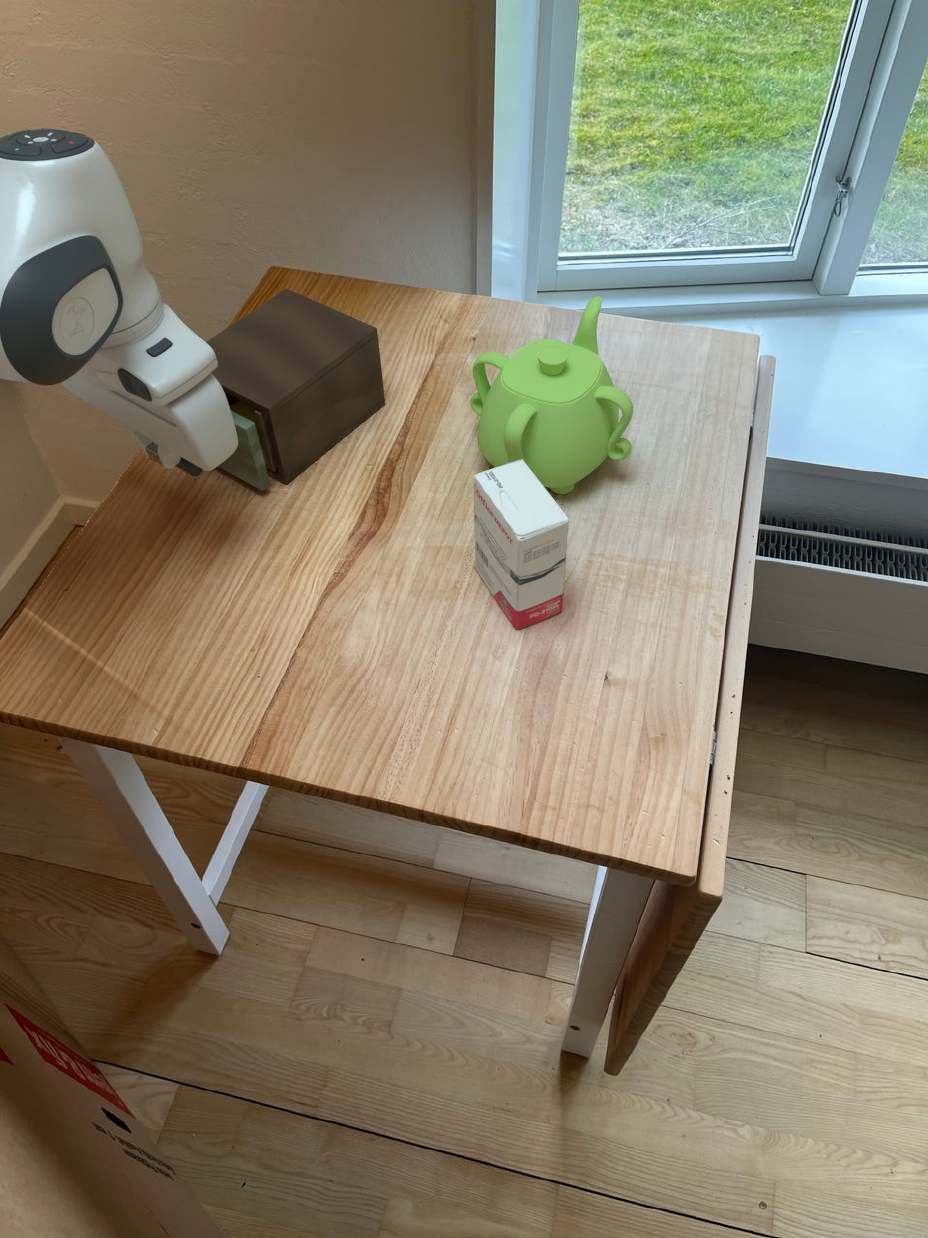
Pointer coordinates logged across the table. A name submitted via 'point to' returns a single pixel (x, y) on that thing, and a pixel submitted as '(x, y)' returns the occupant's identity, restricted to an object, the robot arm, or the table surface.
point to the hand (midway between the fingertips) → (164, 460)
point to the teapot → (552, 407)
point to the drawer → (245, 451)
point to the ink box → (520, 543)
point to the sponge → (246, 413)
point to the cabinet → (301, 375)
